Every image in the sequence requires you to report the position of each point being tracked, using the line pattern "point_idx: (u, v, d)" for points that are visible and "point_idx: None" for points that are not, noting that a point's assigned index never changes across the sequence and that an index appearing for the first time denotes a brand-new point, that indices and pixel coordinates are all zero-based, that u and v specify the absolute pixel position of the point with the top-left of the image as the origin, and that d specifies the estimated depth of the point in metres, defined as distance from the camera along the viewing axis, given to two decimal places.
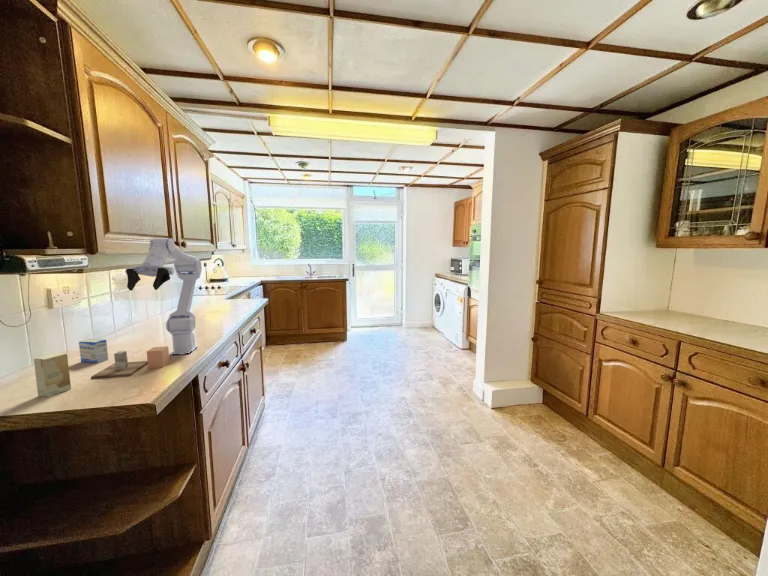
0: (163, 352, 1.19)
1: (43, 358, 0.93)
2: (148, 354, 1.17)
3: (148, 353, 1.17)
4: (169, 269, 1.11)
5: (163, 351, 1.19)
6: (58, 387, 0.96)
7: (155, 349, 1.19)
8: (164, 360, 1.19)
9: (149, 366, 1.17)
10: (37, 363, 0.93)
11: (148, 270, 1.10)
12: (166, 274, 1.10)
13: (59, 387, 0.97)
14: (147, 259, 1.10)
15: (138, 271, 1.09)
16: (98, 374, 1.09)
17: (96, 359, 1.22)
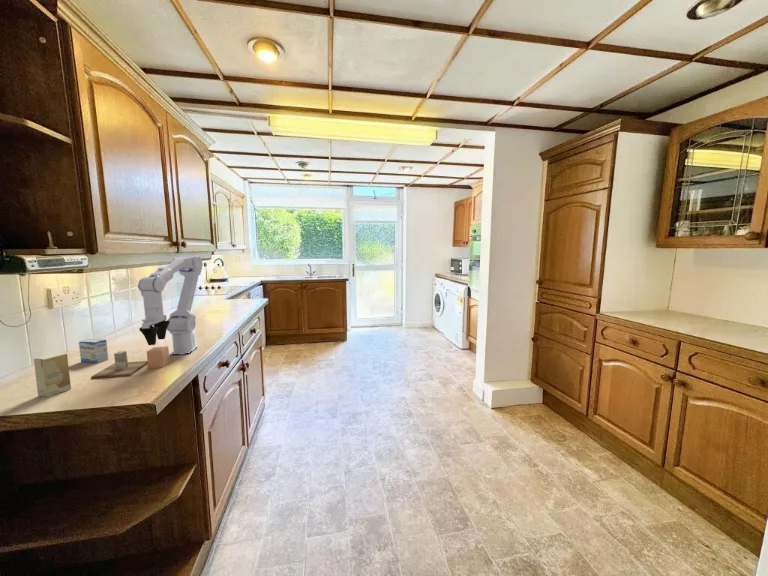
0: (163, 352, 1.19)
1: (43, 358, 0.93)
2: (148, 354, 1.17)
3: (148, 353, 1.17)
4: None
5: (163, 351, 1.19)
6: (58, 387, 0.96)
7: (155, 349, 1.19)
8: (164, 360, 1.19)
9: (149, 366, 1.17)
10: (37, 363, 0.93)
11: None
12: (147, 329, 1.13)
13: (59, 387, 0.97)
14: None
15: None
16: (98, 374, 1.09)
17: (96, 359, 1.22)
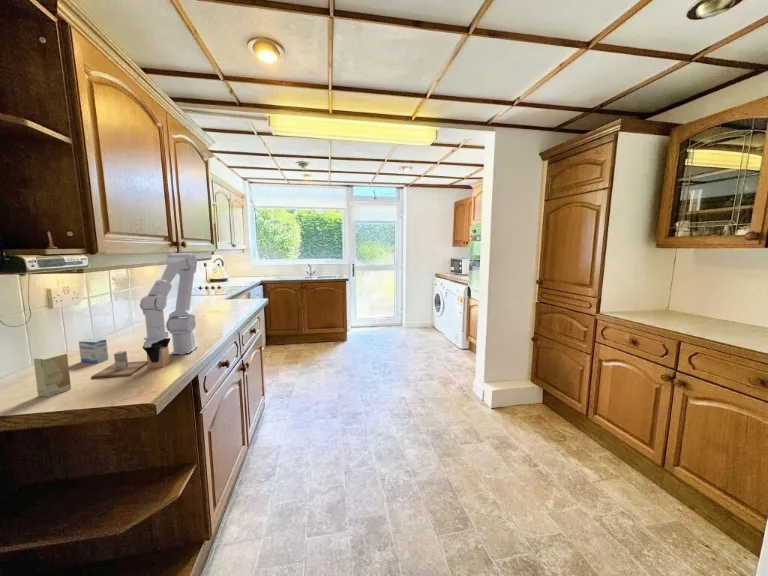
0: (163, 352, 1.19)
1: (43, 358, 0.93)
2: None
3: None
4: None
5: (163, 351, 1.19)
6: (58, 387, 0.96)
7: None
8: (164, 360, 1.19)
9: (149, 366, 1.17)
10: (37, 363, 0.93)
11: None
12: (150, 347, 1.15)
13: (59, 387, 0.97)
14: None
15: None
16: (98, 374, 1.09)
17: (96, 359, 1.22)
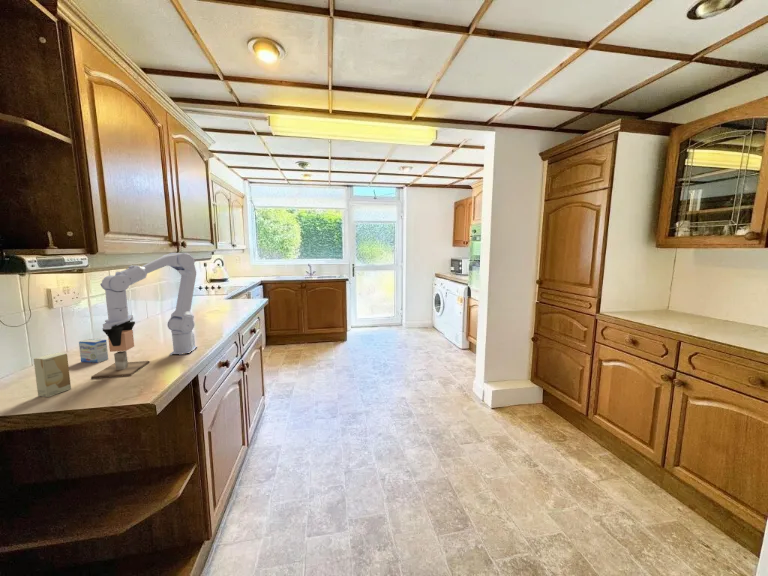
0: (126, 335, 1.13)
1: (43, 358, 0.93)
2: None
3: None
4: None
5: (126, 334, 1.13)
6: (58, 387, 0.96)
7: None
8: (127, 344, 1.13)
9: (111, 350, 1.11)
10: (37, 363, 0.93)
11: None
12: (111, 329, 1.08)
13: (59, 387, 0.97)
14: None
15: None
16: (98, 374, 1.09)
17: (96, 359, 1.22)
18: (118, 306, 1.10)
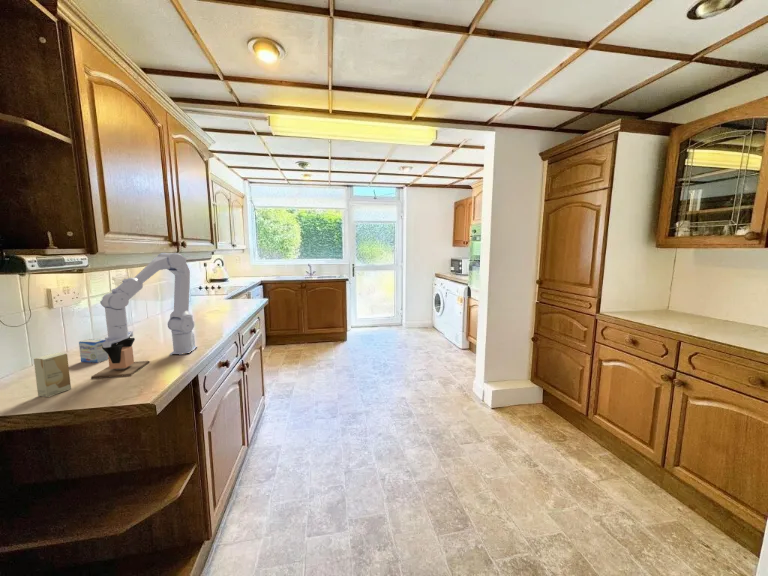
0: (126, 352, 1.13)
1: (43, 358, 0.93)
2: None
3: None
4: None
5: (126, 351, 1.13)
6: (58, 387, 0.96)
7: None
8: (127, 361, 1.14)
9: (110, 367, 1.12)
10: (37, 363, 0.93)
11: None
12: (110, 347, 1.09)
13: (59, 387, 0.97)
14: None
15: None
16: (98, 374, 1.09)
17: (96, 359, 1.22)
18: (117, 324, 1.11)
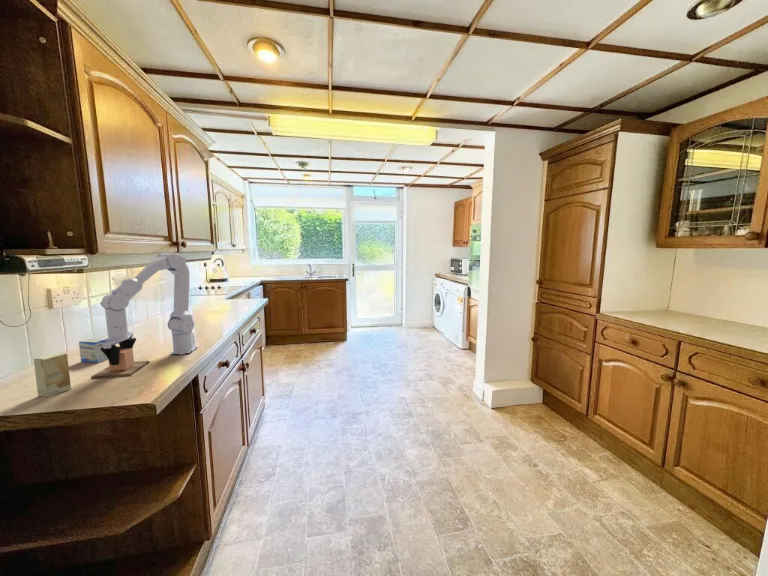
0: (126, 354, 1.13)
1: (43, 358, 0.93)
2: None
3: None
4: None
5: (126, 353, 1.13)
6: (58, 387, 0.96)
7: None
8: (127, 363, 1.14)
9: (111, 369, 1.12)
10: (37, 363, 0.93)
11: None
12: (109, 349, 1.08)
13: (59, 387, 0.97)
14: None
15: None
16: (98, 374, 1.09)
17: (96, 359, 1.22)
18: (118, 325, 1.11)
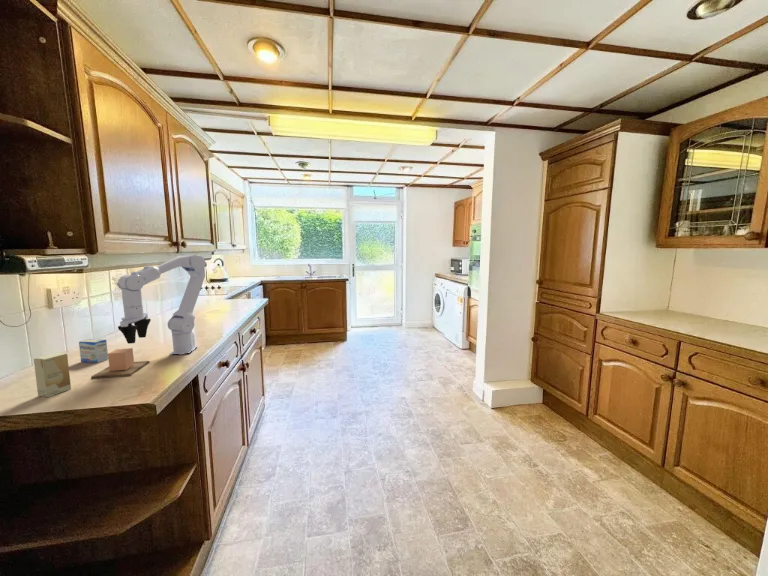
0: (126, 354, 1.13)
1: (43, 358, 0.93)
2: (109, 356, 1.11)
3: (109, 355, 1.11)
4: None
5: (126, 353, 1.13)
6: (58, 387, 0.96)
7: (117, 351, 1.13)
8: (127, 363, 1.14)
9: (111, 369, 1.12)
10: (37, 363, 0.93)
11: None
12: (126, 328, 1.12)
13: (59, 387, 0.97)
14: None
15: None
16: (98, 374, 1.09)
17: (96, 359, 1.22)
18: (134, 304, 1.15)
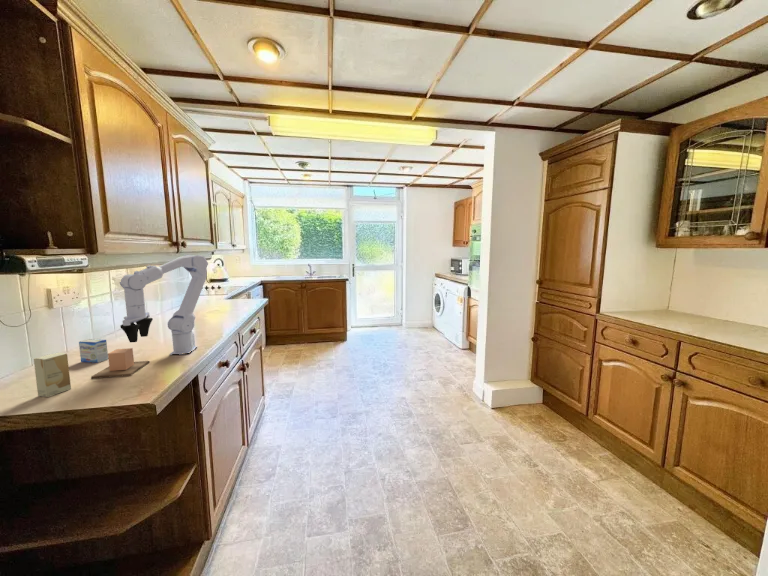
0: (126, 354, 1.13)
1: (43, 358, 0.93)
2: (109, 356, 1.11)
3: (109, 355, 1.11)
4: None
5: (126, 353, 1.13)
6: (58, 387, 0.96)
7: (117, 351, 1.13)
8: (127, 363, 1.14)
9: (111, 369, 1.12)
10: (37, 363, 0.93)
11: None
12: (128, 326, 1.13)
13: (59, 387, 0.97)
14: None
15: None
16: (98, 374, 1.09)
17: (96, 359, 1.22)
18: (136, 303, 1.16)
